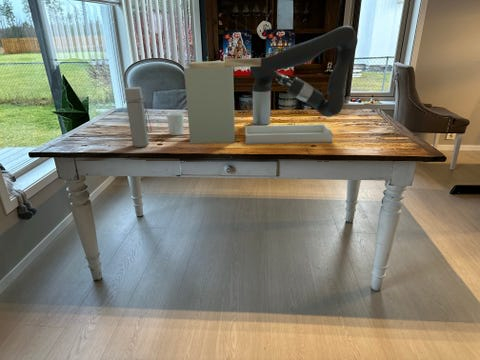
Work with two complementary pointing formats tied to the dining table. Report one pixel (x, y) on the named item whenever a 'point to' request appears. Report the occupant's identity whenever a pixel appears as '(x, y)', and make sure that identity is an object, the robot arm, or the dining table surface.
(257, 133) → the tray
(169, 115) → the white cup
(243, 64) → the beige long bar
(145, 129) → the water bottle
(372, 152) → the dining table surface
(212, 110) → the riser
